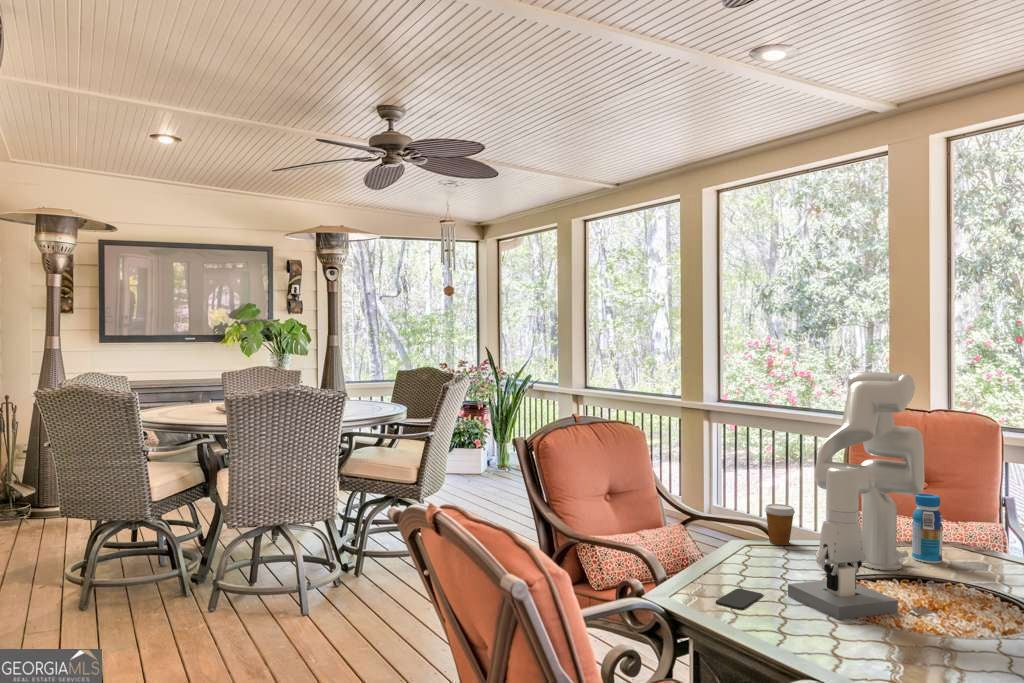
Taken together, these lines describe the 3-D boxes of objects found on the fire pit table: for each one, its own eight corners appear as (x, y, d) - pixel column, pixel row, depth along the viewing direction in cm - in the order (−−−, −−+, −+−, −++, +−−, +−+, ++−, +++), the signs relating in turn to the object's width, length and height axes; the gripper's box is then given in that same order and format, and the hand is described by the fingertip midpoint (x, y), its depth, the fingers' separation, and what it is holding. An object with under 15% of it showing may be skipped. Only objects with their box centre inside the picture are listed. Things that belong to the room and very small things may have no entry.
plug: (842, 598, 190) (842, 557, 190) (855, 604, 185) (855, 562, 186) (827, 599, 188) (827, 558, 188) (840, 605, 184) (840, 563, 184)
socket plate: (843, 589, 198) (843, 578, 198) (897, 612, 181) (897, 600, 181) (787, 595, 192) (787, 583, 192) (838, 619, 175) (838, 607, 175)
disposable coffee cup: (789, 547, 240) (790, 510, 240) (760, 542, 246) (760, 506, 246) (798, 542, 248) (798, 506, 248) (769, 537, 254) (770, 502, 254)
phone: (764, 593, 192) (742, 608, 181) (764, 597, 192) (742, 611, 181) (737, 587, 197) (713, 601, 185) (737, 591, 197) (713, 604, 185)
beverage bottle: (905, 558, 230) (906, 493, 231) (923, 555, 234) (924, 492, 234) (930, 565, 223) (931, 498, 223) (949, 562, 226) (949, 497, 227)
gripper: (857, 511, 193) (856, 581, 193) (804, 515, 188) (803, 587, 188) (880, 518, 186) (879, 590, 186) (825, 521, 181) (824, 596, 181)
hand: (841, 587), depth 187 cm, fingers open, 5 cm apart
